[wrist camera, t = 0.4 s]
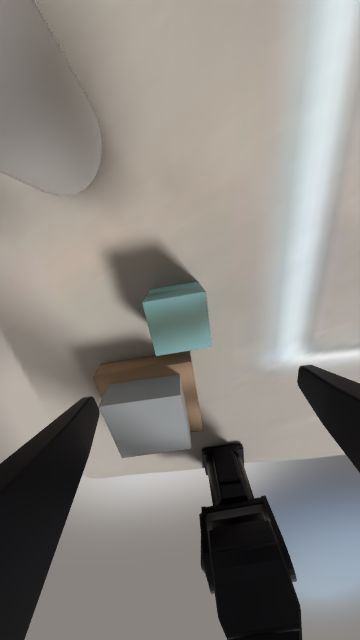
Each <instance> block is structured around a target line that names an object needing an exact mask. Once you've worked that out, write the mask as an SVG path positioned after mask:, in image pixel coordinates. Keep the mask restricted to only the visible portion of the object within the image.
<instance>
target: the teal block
mask: <svg viewBox="0 0 360 640" xmlns="http://www.w3.org/2000/svg"><path fill="white" fill-rule="evenodd" d="M142 304H143V308H144V312H145V315H146V319H147V323H148V327H149V331H150V335H151V339H152V342H153V346H154V350H155V354H156V356H160V355H166V354H172V353H178V352H184V351H191V350H197V349H203V348H209V347H212V343H211V334H210V325H209V316H208V307H207V298H206V291H205V290H204V289H203V287H202V286H201V285H200V284H199V282H198V281H195V282H190V283H184V284H178V285H172V286H167V287H161V288H155V289H150V291H149V292H148V294H147V295H146V297H145V299H144V300H143V302H142Z"/></svg>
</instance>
